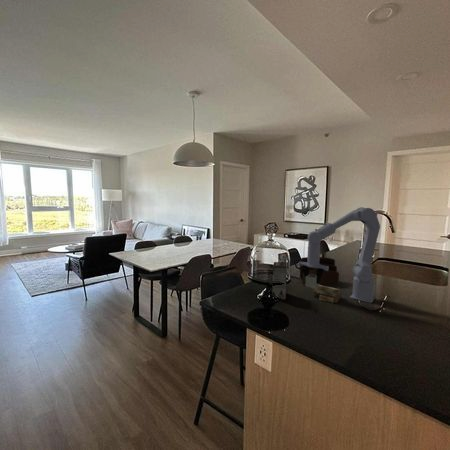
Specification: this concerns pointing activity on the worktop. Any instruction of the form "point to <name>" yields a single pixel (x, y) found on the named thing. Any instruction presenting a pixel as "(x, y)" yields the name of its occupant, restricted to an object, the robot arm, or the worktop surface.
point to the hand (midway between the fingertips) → (312, 282)
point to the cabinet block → (311, 281)
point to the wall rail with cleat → (328, 293)
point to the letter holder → (328, 276)
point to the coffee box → (280, 279)
